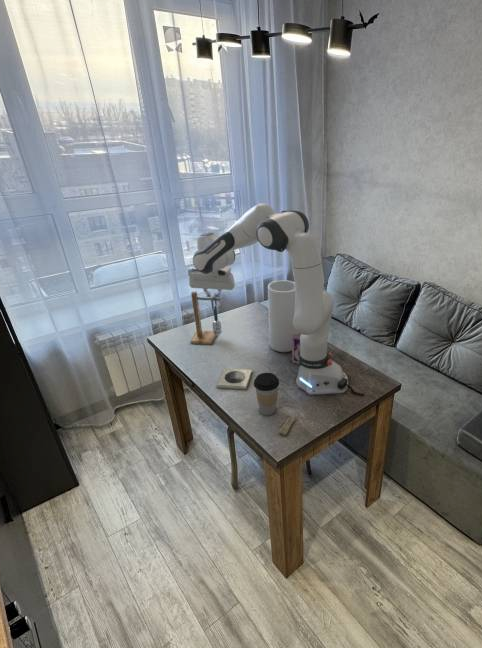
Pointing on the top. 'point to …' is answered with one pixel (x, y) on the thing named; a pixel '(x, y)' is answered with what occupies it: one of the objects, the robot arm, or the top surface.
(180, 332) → the top surface
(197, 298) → the hook stand
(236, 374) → the hot plate
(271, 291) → the vase
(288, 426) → the snack bar
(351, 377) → the top surface
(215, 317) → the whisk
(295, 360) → the greeting card
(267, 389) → the coffee cup
